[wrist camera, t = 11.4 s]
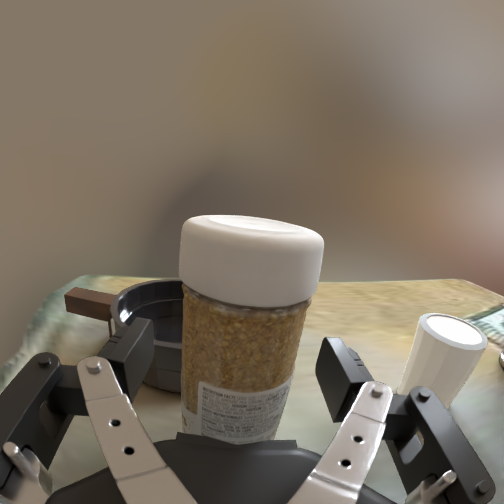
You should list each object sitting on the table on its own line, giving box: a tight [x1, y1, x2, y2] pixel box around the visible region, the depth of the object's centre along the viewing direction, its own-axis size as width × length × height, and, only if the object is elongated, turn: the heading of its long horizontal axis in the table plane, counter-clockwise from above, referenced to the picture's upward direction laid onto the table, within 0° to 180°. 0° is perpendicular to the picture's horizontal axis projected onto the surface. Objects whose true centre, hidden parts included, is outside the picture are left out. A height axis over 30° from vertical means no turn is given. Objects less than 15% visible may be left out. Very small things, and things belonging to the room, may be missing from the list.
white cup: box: [397, 313, 488, 409], centre depth 17 cm, size 7×7×7 cm
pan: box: [110, 279, 184, 393], centre depth 23 cm, size 13×13×4 cm
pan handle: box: [64, 287, 117, 338], centre depth 22 cm, size 6×2×4 cm, turn 92°
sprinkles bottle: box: [179, 215, 324, 445], centre depth 10 cm, size 5×5×14 cm
